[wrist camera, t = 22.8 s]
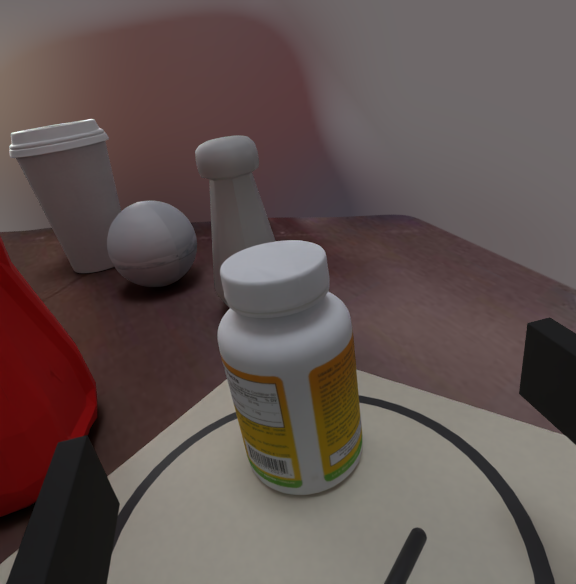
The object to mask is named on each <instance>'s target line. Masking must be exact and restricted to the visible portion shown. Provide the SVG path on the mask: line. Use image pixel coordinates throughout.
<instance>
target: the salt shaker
mask: <svg viewBox="0 0 576 584" xmlns="http://www.w3.org/2000/svg"><path fill="white" fill-rule="evenodd" d="M195 153H196V164H197V168H198V171H199V174H200V175H201V177H202V178H207V179H209V183H210V203H211V204H210V205H211V227H212V249H213V270H214V286H215V291H216V293H217V295H218V297H219V298H220V299H221V300H222V301H223V302H224V303H225V304H226V305H227V306H228V307H229V305H228V303H227V301H226V299H225V297H224V290H223V286H222V281H221V276H220V268H221V266H222V264H223V263H224V261H225V260H226V259H228V258H229V257H230V256H232V255H234V254H235V253H237V252H239V251H242V250H244V249H247V248H250V247H253V246H256V245H260V244H264V243H269V242H276V241H275V239H274V236H273V233H272V230H271V227H270V224H269V221H268V218H267V215H266V212H265V210H264V206H263V204H262V201H261V198H260V195H259V192H258V189H257V186H256V183H255V180H254V177H253V174H252V172H253V171H254V170H255V169H257V168H258V166H259V158H258V152H257V149H256V146H255V143H254V142H253V141H252V140H251V139H250V138H248V137H245V136H229V137H222V138H218V139H213V140H209V141H207V142H205V143H203V144H201V145H199V147H198V148H197V150H196V151H195ZM229 308H230V307H229Z"/></svg>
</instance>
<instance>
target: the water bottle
mask: <svg viewBox="0 0 576 584" xmlns="http://www.w3.org/2000/svg"><path fill="white" fill-rule="evenodd" d="M96 419H97V392H96V382H95V380H94V379H93V377H92V375H91V373H90V371H89V369H88V367H87V365H86V363H85V361H84V359H83V357H82V355H81V353H80V351H79V350H78V348H77V346H76V344H75V342H74V341H73V340H72V338H71V337H70V336H69V335H68V333H67V332H66V331H65V330H64V328H63V327H62V326H61V324H60V323H59V322H58V321H57V319H56V318H55V317H54V316H53V314H52V313H51V312H50V311H49V309H48V308H47V307H46V305H45V304H44V303H43V302H42V300H41V299H40V298H39V297H38V295H37V294H36V293H35V291H34V290H33V289H32V288H31V286H30V285H29V284H28V283H27V281H26V280H25V279H24V277H23V276H22V275H21V274H20V272H19V271H18V270H17V269H16V267H15V266H14V265H13V263H12V262H11V260H10V258H9V255H8V253H7V251H6V248H5V246H4V244H3V241H2V239H1V237H0V517H2V516H4V515H7V514H10V513H12V512H15V511H18V510H21V509H23V508H26V507H29V506H31V505H32V504H33V503H34V502H36V501H37V498H38V495H39V493H40V490H41V487H42V484H43V482H44V479H45V476H46V474H47V471H48V468H49V465H50V463H51V460H52V457H53V454H54V452H55V449H56V446H57V444H58V442H62V441H66V440H70V439H74V438H78V437H82V436H85V435H88V433H89V429H90V427H91V426H92V424H93V423H94V421H95V420H96Z"/></svg>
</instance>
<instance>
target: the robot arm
mask: <svg viewBox="0 0 576 584" xmlns="http://www.w3.org/2000/svg"><path fill="white" fill-rule="evenodd" d="M519 394H520V395H521V396H522V397H523V398H524V399H526V400H527V401H528V402H529V403H530V404H531V405H532V406H533V407H534V408H535V409H537V410H538V411H539V412H540V413H541V414H542V415H543V416H544V417H545V418H546V419H548V420H549V421H550V422H551V423H552V424H553V425H554V426H555V427H556V428H557V429H559V430H560V431H561V432H562V433H563V434H564V435H565V436H566V437H567V438H568V439H570V440H571V441H572V442H573V443H574V444H575V445H576V334H575V333H574V332H572V331H571V330H569V329H567V328H566V327H564V326H563V325H561V324H559V323H558V322H556V321H555V320H553V319H551V318H546V319H542V320H538V321H534V322H531V323H528V324H527V332H526V340H525V349H524V357H523V366H522V374H521V382H520V391H519ZM119 506H120V503H119V501H118V499H117V497H116V494H115V492H114V490H113V488H112V486H111V484H110V482H109V480H108V477H107V475H106V473H105V471H104V469H103V467H102V465H101V463H100V461H99V458H98V456H97V454H96V452H95V450H94V448H93V446H92V444H91V442H90V439H89V437H88V435H85V436H82V437H78V438H74V439H70V440H66V441H62V442H58V444H57V446H56V449H55V452H54V454H53V457H52V460H51V463H50V465H49V468H48V471H47V474H46V476H45V479H44V482H43V484H42V487H41V490H40V493H39V495H38V498H37V501H36V504H35V506H34V509H33V512H32V514H31V517H30V520H29V523H28V525H27V528H26V531H25V533H24V536H23V539H22V542H21V544H20V547H19V550H18V553H17V555H16V558H15V561H14V563H13V566H12V569H11V572H10V574H9V577H8V580H7V582H6V584H107V580H108V574H109V568H110V561H111V555H112V549H113V543H114V537H115V531H116V525H117V518H118V512H119Z"/></svg>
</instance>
